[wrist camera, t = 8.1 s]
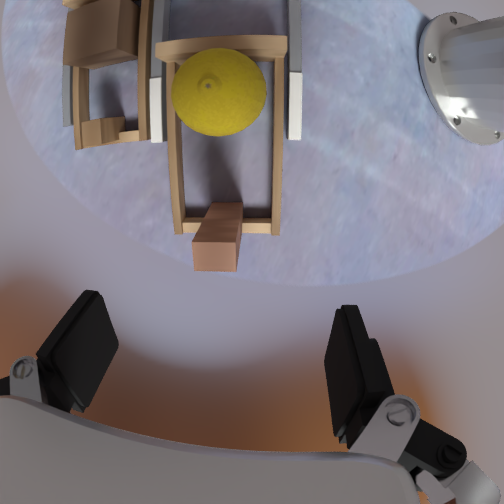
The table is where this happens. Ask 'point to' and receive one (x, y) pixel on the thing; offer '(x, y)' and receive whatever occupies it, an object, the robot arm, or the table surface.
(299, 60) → the lane rails
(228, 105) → the lemon
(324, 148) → the table surface
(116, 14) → the walnut cube
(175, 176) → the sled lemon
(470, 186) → the table surface
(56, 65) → the table surface
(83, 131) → the cube
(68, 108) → the rail right
